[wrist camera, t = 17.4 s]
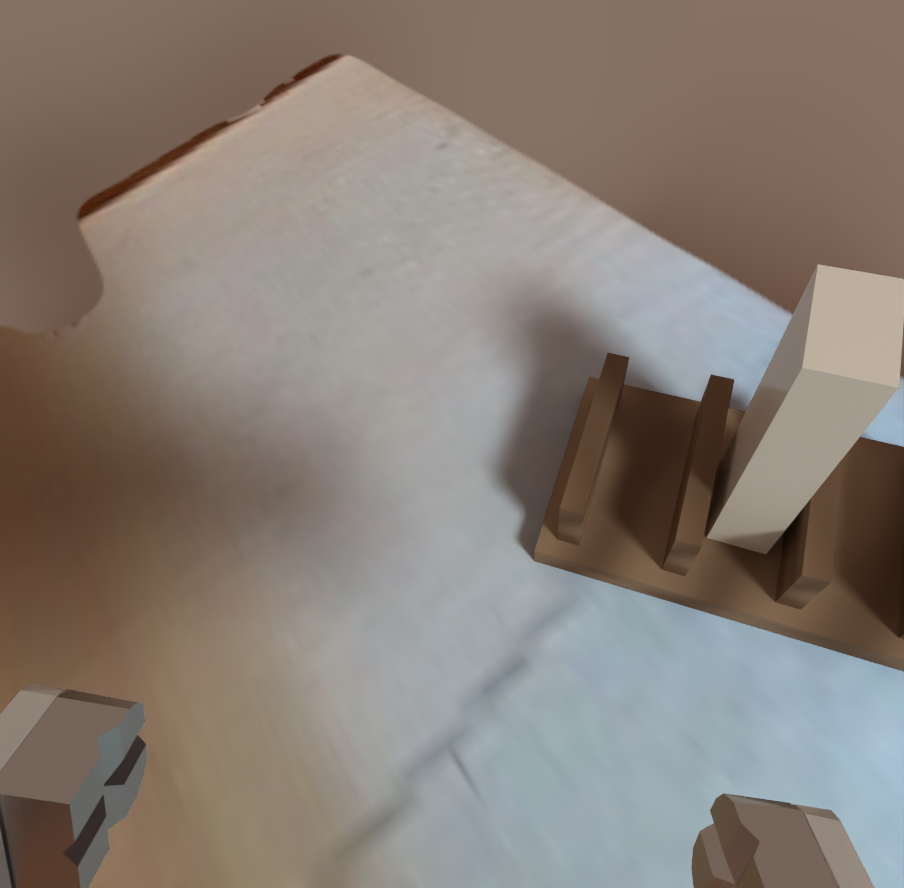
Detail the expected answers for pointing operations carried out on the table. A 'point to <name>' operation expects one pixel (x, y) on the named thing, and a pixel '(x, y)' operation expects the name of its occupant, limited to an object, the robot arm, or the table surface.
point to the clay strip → (810, 403)
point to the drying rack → (689, 512)
